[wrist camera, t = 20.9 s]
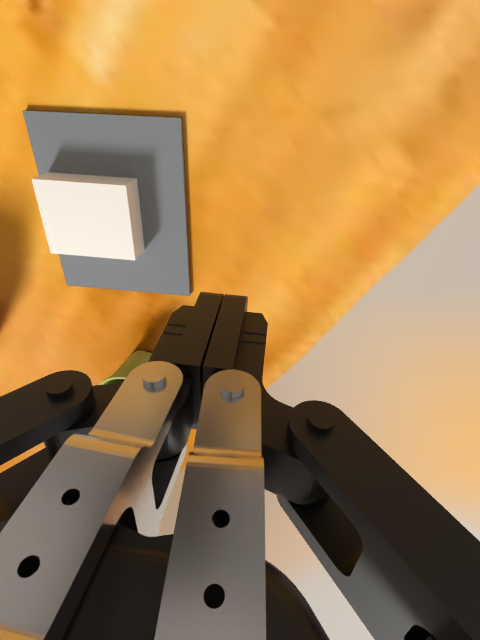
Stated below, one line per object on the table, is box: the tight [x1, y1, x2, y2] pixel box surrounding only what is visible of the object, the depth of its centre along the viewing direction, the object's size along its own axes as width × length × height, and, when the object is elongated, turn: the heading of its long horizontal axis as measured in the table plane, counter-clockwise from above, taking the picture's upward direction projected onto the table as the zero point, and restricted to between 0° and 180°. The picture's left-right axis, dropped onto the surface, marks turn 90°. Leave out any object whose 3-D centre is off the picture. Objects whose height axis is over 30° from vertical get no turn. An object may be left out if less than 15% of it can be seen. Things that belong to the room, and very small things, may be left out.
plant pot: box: [99, 350, 152, 385], centre depth 58 cm, size 9×9×9 cm
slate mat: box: [23, 110, 191, 296], centre depth 47 cm, size 22×18×1 cm
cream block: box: [32, 172, 145, 260], centre depth 46 cm, size 9×4×11 cm
